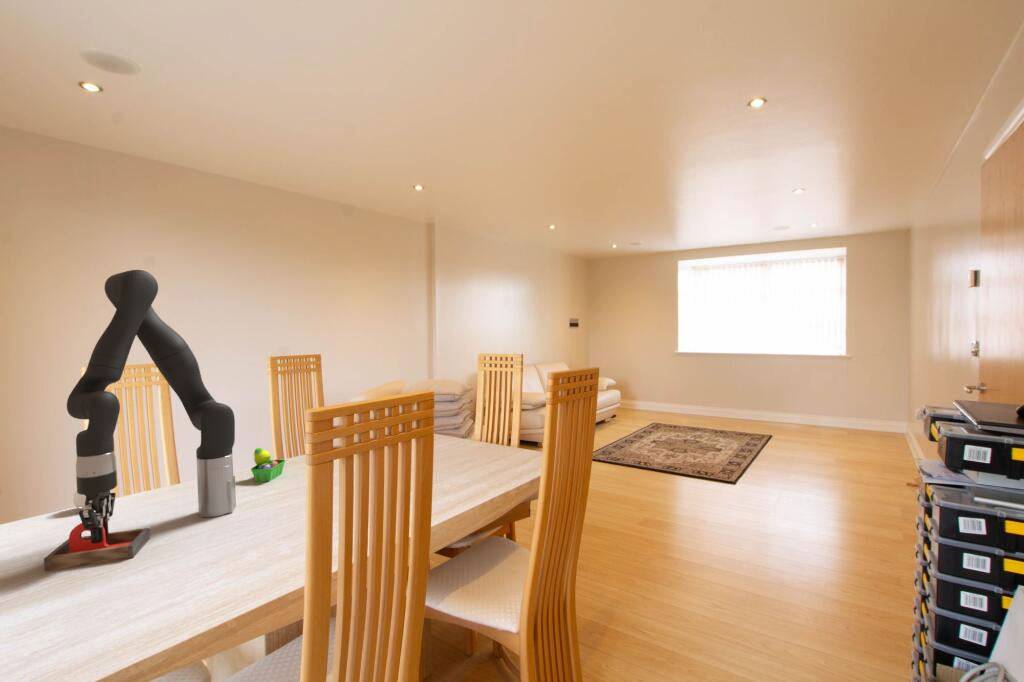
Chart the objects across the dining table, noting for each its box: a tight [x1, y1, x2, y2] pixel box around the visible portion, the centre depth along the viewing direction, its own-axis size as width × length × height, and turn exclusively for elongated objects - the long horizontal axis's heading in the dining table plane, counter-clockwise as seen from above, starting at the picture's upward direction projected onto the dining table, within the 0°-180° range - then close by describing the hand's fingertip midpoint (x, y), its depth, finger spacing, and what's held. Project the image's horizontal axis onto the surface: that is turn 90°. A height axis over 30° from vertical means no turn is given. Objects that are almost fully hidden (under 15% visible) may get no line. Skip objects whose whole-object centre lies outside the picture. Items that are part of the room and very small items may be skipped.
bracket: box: [68, 522, 131, 553], centre depth 117 cm, size 12×4×8 cm, turn 110°
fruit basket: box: [250, 447, 286, 483], centre depth 176 cm, size 11×9×11 cm
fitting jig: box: [43, 527, 151, 572], centre depth 119 cm, size 17×11×3 cm, turn 110°
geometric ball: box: [72, 490, 86, 510], centre depth 149 cm, size 8×8×8 cm
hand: (100, 539), depth 119 cm, fingers closed
